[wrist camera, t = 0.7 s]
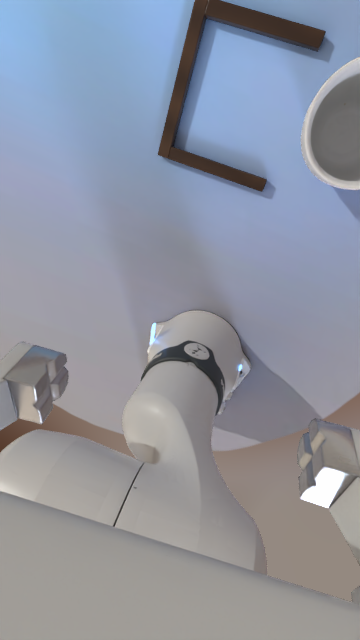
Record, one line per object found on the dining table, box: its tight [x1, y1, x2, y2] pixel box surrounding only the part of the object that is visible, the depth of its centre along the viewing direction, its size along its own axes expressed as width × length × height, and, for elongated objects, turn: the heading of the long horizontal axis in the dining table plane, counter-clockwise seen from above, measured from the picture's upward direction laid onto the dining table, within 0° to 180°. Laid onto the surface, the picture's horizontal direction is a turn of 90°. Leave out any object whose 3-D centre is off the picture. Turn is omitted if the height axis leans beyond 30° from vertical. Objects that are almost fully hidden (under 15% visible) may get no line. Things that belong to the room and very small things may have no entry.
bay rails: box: [158, 0, 326, 192], centre depth 42 cm, size 18×16×1 cm
